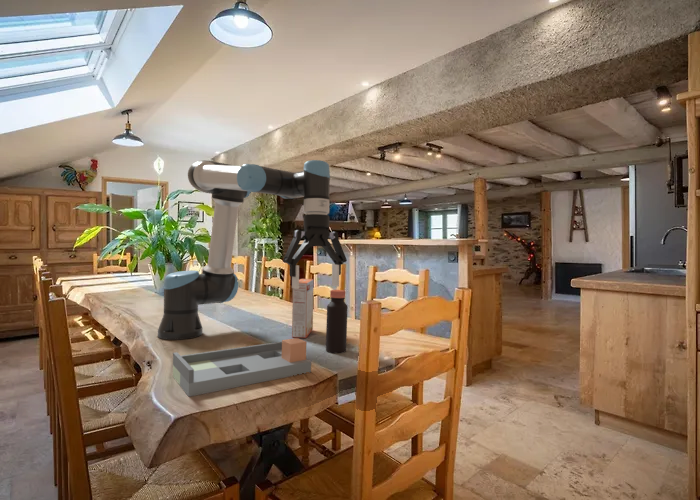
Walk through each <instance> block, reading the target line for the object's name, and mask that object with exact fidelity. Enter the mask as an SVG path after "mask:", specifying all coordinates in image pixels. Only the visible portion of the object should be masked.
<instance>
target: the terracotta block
mask: <svg viewBox="0 0 700 500" xmlns="http://www.w3.org/2000/svg"><path fill="white" fill-rule="evenodd" d="M281 342H282V358H283V359H285V360H286V361H288V362H296V361H302V360H306V359H307V343H308V342H307V341H305V340H303V339H302V338H288V339H282V340H281Z"/></svg>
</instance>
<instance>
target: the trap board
mask: <svg viewBox="0 0 700 500" xmlns="http://www.w3.org/2000/svg"><path fill="white" fill-rule="evenodd" d="M306 372H309V373H312V361H311V360H309V359H307V358H306V360H302V361H296V362H288V361H286V360H285V359H283V358H282V341H278V342H277V341H276V342H268V343H262V344H261V343H260V344H255V345H248V346H247V345H246V346H241V347H234V348H226V349H225V348H224V349H219V350H212V351H205V352H198V353H191V354H182V355H181V354H180V353H179V352H177V351H175V352H173V353H172V377H173V378H174V380H175V381H176V382H177V383H178V385H179V386H180V388H181V389H182V391H183V392H184V393H185V394H186V395H187V396H188V397H195V396H200V395H203V394H204V395H205V394H209V393H214V392H219V391H224V390H228V389H233V388H238V387H240V388H241V387H245V386H249V385H254V384H258V383H264V382H269V381H274V380H279V379H283V378H289V377H293V375H294V376H298V375H297V374H299V375H303V374H302V373H304V374H307V373H306Z"/></svg>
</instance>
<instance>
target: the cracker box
mask: <svg viewBox="0 0 700 500" xmlns="http://www.w3.org/2000/svg"><path fill="white" fill-rule="evenodd" d="M314 285H315V283H314V278H299V289H295V288H292V310H291V311H292V318H291V319H292V322H291V323H292V325H291V326H292V327H291V339H294V338H299V339H307V338H308V337H309V335H310V334H311V332H312V331H313V330H314V327H313V325H314Z"/></svg>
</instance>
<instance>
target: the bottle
mask: <svg viewBox="0 0 700 500" xmlns="http://www.w3.org/2000/svg"><path fill="white" fill-rule="evenodd" d="M329 292H330V297H329V298H330V299H331V300H330V302H328V304H327V305H326V329H325V330H326V331H325V333H326V334H325V335H326V336H325V350H326V352H328V353H330V354H341V353H345V352H346V351H347V337H348V336H347V335H348V331H347V330H348V308H349V307H348V306H349V305H348V304H346V302H345V300H346V290H344V289H331V290H330V291H329Z"/></svg>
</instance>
